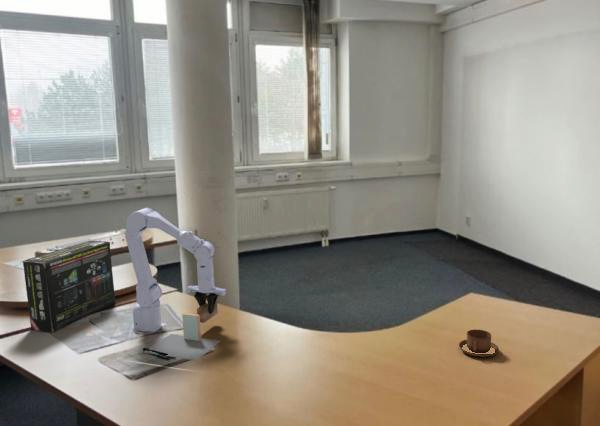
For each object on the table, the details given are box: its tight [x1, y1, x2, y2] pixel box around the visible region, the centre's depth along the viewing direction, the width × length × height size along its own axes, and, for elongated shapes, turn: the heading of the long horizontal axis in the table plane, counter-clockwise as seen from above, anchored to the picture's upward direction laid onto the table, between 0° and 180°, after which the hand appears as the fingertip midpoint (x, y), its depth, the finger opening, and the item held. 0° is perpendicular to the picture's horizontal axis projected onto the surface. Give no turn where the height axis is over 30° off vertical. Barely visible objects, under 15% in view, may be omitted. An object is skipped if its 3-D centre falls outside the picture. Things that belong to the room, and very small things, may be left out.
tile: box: [181, 312, 202, 341], centre depth 180 cm, size 6×1×9 cm, turn 70°
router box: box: [22, 240, 117, 333], centre depth 206 cm, size 36×11×27 cm, turn 160°
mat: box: [142, 333, 221, 361], centre depth 176 cm, size 20×16×1 cm
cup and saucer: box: [458, 329, 499, 358], centre depth 168 cm, size 12×12×6 cm
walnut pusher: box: [196, 299, 219, 324], centre depth 190 cm, size 2×10×5 cm, turn 160°
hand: (207, 312), depth 190 cm, fingers closed on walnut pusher, 2 cm apart
